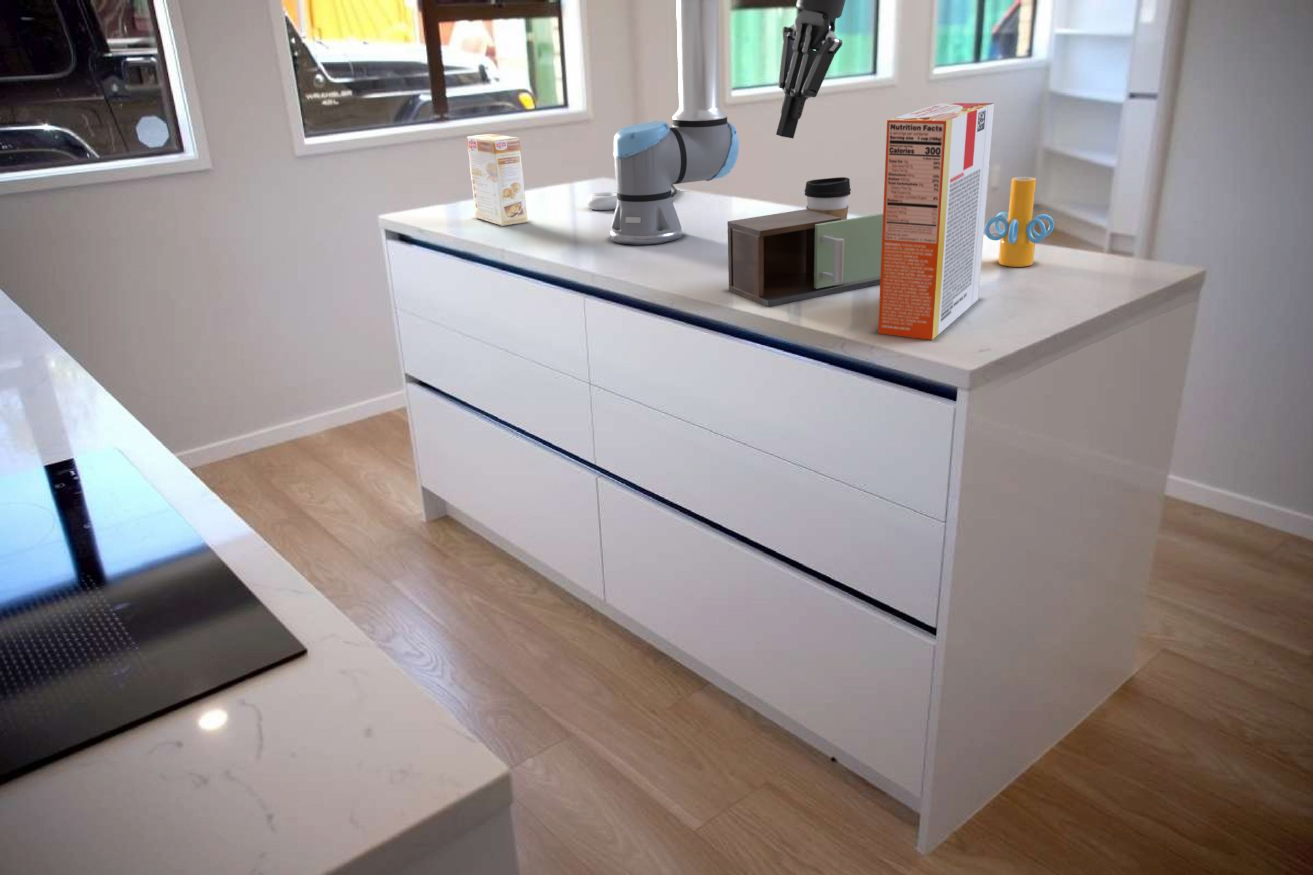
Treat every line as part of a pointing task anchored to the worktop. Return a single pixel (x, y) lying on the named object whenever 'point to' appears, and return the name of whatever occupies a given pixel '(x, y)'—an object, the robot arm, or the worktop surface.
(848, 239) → the door
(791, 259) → the cabinet
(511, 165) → the coffeecake box
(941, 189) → the cereal box
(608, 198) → the donut
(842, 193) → the coffee cup
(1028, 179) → the cylinder
